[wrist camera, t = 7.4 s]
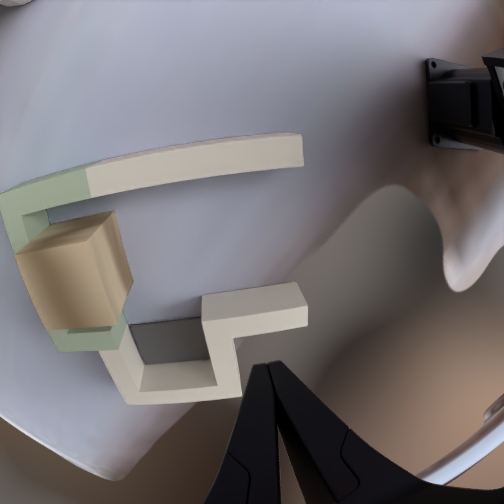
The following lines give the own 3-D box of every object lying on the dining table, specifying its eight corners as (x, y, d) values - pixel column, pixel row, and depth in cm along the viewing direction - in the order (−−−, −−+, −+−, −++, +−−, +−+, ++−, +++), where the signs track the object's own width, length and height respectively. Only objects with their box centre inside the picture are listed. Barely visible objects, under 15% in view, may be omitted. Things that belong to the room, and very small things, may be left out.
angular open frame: (287, 132, 17) (301, 135, 14) (297, 359, 25) (306, 385, 22) (21, 183, 16) (-4, 195, 13) (98, 379, 23) (90, 404, 21)
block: (114, 210, 18) (87, 241, 13) (133, 280, 20) (116, 325, 16) (50, 223, 18) (13, 255, 13) (72, 288, 20) (45, 330, 15)
